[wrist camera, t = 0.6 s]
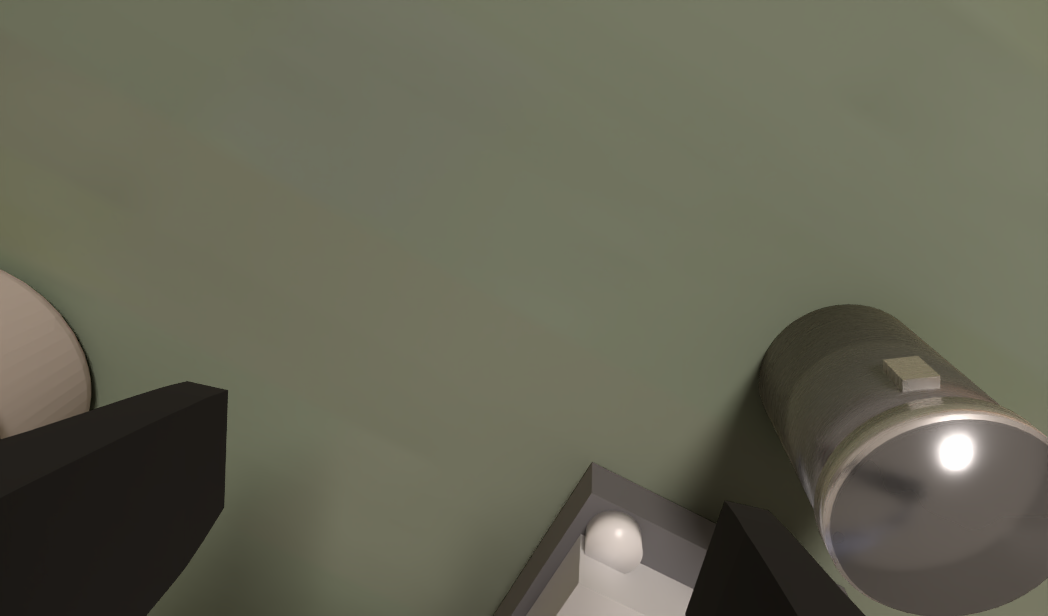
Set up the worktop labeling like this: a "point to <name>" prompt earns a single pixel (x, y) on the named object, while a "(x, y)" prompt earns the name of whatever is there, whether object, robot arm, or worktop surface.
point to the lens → (908, 464)
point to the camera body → (613, 555)
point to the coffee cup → (37, 362)
